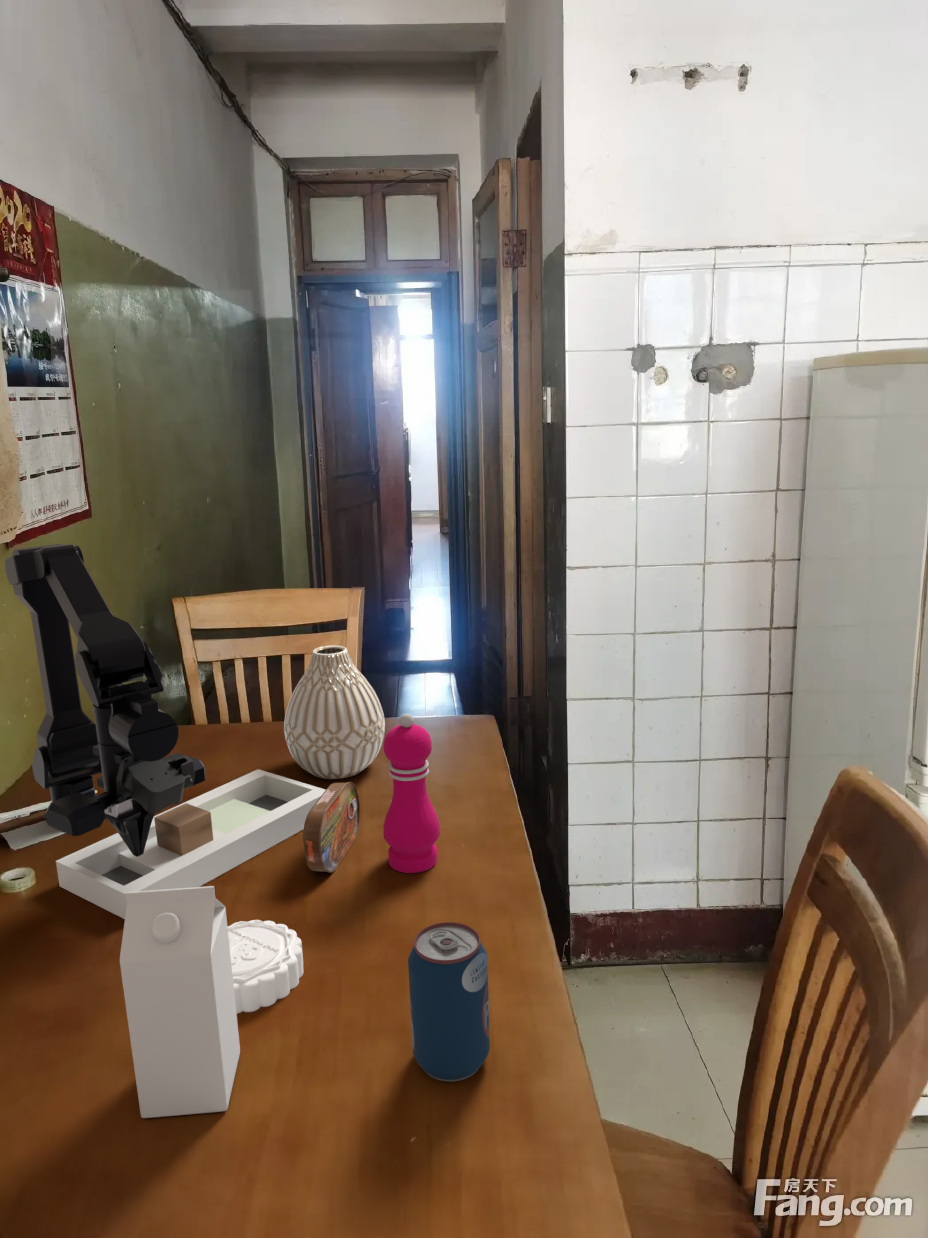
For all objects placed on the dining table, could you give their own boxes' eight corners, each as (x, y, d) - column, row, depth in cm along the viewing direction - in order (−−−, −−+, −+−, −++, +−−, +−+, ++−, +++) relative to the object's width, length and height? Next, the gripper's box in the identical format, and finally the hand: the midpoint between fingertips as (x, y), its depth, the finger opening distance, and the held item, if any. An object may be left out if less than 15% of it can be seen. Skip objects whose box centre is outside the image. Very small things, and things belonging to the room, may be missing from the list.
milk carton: (161, 1060, 82) (137, 870, 77) (240, 1053, 82) (221, 865, 78) (140, 1120, 75) (112, 917, 70) (227, 1113, 75) (205, 910, 71)
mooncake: (160, 990, 92) (156, 959, 91) (249, 932, 101) (246, 903, 101) (241, 1033, 85) (238, 1000, 84) (328, 966, 95) (325, 936, 94)
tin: (325, 885, 110) (321, 822, 108) (301, 883, 111) (296, 820, 109) (363, 828, 125) (360, 772, 123) (341, 827, 125) (338, 771, 123)
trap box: (59, 886, 112) (55, 861, 111) (260, 790, 138) (258, 769, 137) (132, 923, 103) (129, 896, 102) (331, 813, 129) (330, 791, 128)
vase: (308, 798, 135) (298, 670, 130) (274, 763, 148) (264, 646, 143) (403, 774, 142) (398, 652, 137) (363, 743, 156) (356, 631, 151)
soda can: (505, 1065, 80) (502, 946, 77) (438, 1099, 76) (433, 975, 73) (463, 1022, 85) (459, 909, 82) (399, 1052, 82) (392, 935, 79)
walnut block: (157, 845, 117) (154, 817, 116) (189, 830, 121) (185, 803, 120) (182, 856, 114) (178, 827, 113) (213, 840, 118) (210, 812, 117)
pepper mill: (450, 853, 117) (445, 708, 112) (425, 880, 111) (418, 727, 106) (402, 843, 120) (394, 701, 115) (374, 869, 114) (365, 720, 109)
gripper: (91, 779, 96) (109, 909, 100) (228, 725, 111) (239, 841, 115) (35, 757, 103) (54, 881, 106) (171, 710, 117) (184, 819, 121)
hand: (138, 855), depth 112 cm, fingers closed
